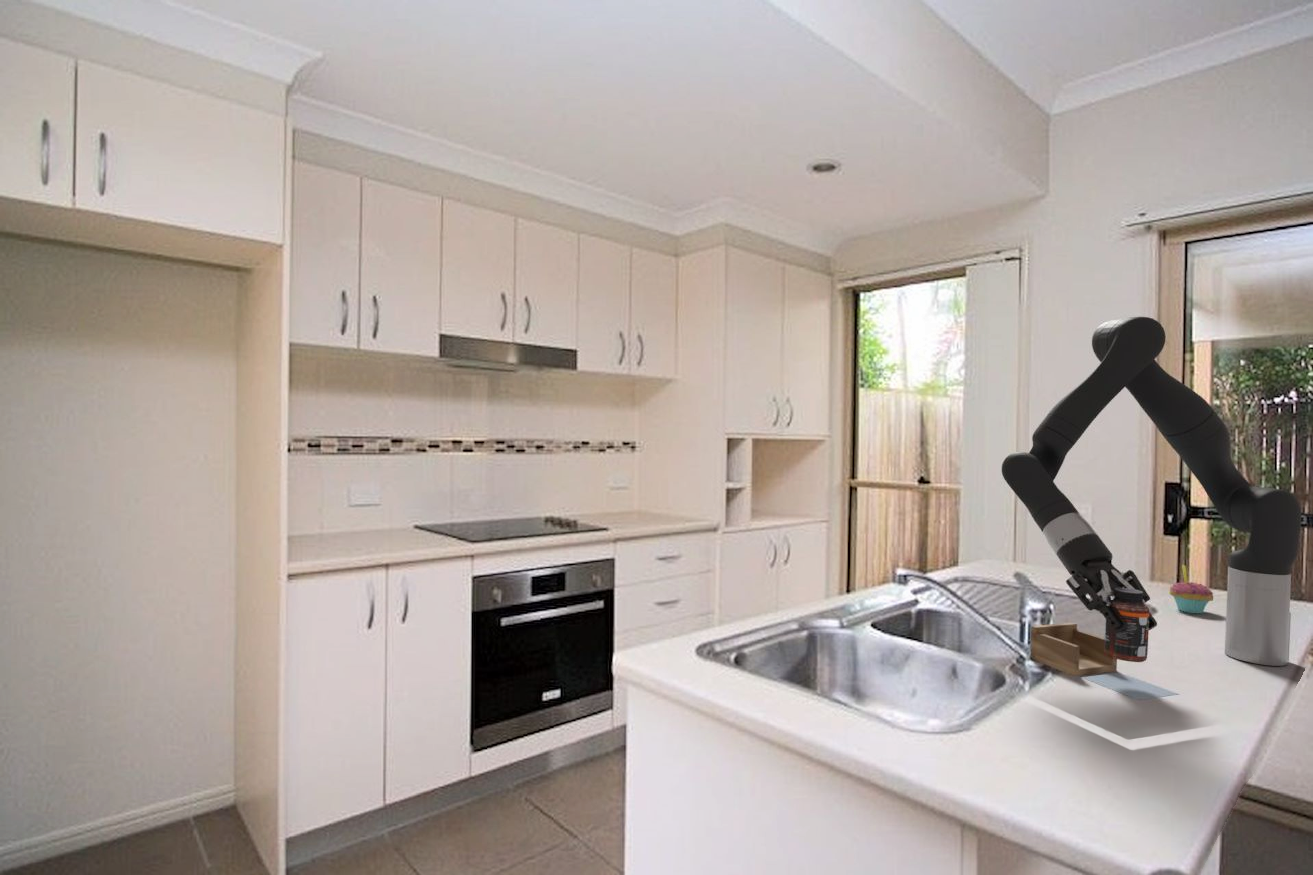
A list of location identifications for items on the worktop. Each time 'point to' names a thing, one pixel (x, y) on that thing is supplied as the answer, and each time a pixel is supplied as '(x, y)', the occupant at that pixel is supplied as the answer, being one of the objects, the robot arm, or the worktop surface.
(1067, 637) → the tray
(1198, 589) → the cupcake
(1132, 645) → the supplement bottle
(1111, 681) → the plate
